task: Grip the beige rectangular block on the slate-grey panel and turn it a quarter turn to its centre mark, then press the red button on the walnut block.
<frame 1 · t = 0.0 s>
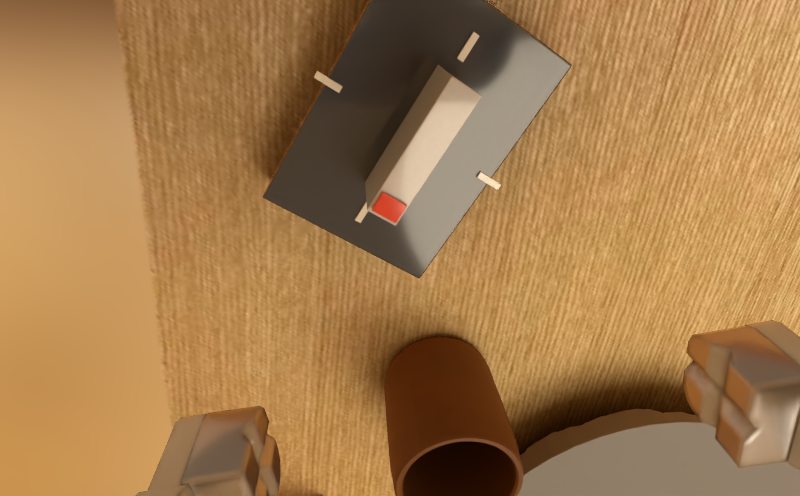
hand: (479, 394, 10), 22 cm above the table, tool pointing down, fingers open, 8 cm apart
beige rectangular block: (417, 144, 25), point 5 cm above the table, hinge at 0.0°
mug: (438, 397, 39), on the table
tap panel: (407, 120, 30), on the table
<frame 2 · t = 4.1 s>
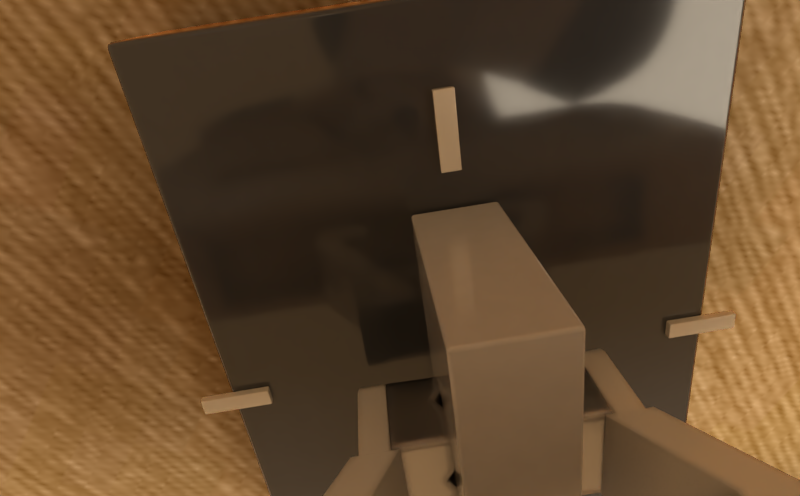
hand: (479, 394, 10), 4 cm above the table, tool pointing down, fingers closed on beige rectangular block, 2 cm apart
beige rectangular block: (494, 438, 9), point 5 cm above the table, hinge at 0.0°, touching gripper
tap panel: (446, 287, 14), on the table
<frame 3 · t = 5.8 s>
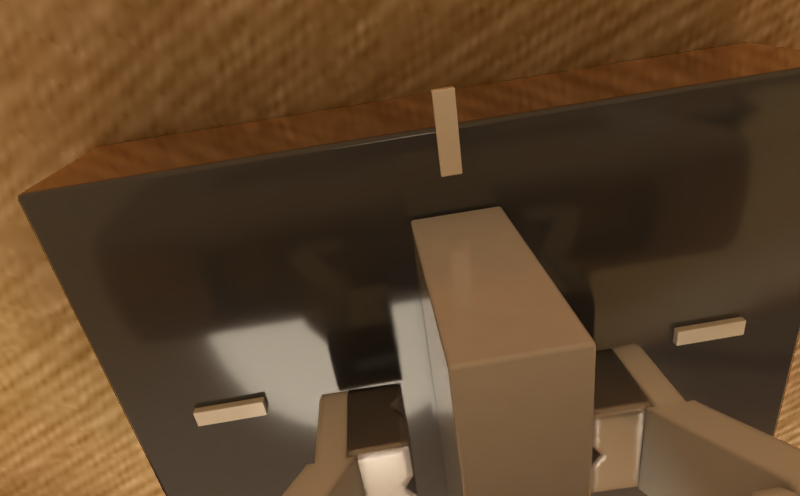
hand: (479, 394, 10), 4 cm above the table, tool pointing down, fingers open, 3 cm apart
beige rectangular block: (497, 452, 9), point 5 cm above the table, hinge at 89.8°
tap panel: (446, 292, 13), on the table
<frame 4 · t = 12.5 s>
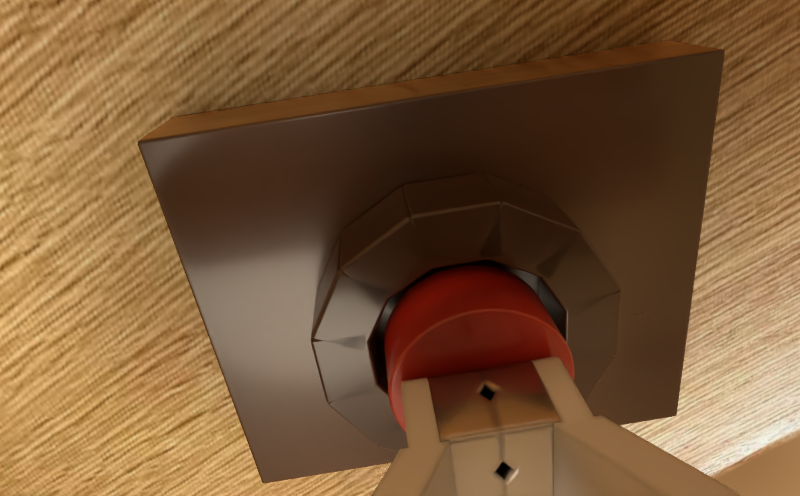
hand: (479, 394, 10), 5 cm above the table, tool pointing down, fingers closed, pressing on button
button block: (441, 261, 15), on the table
button: (473, 360, 11), point 4 cm above the table, slide at 0.0 cm, touching gripper
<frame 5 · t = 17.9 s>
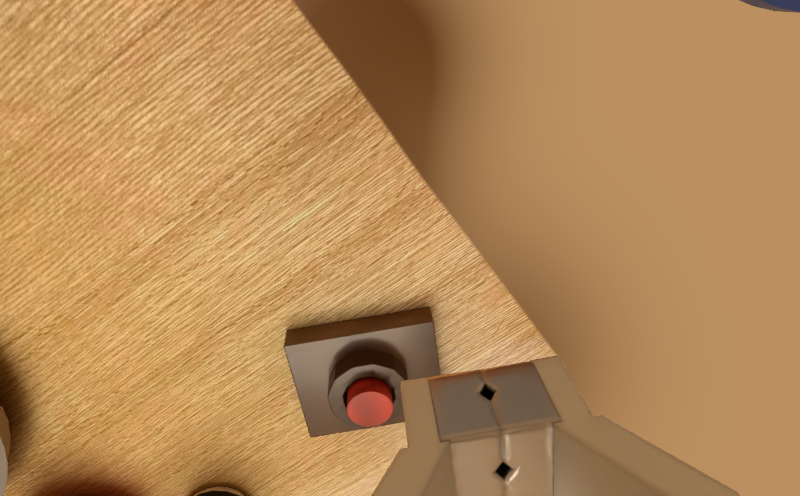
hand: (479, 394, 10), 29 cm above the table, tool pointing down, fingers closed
button block: (368, 365, 46), on the table
button: (369, 401, 42), point 4 cm above the table, slide at 0.1 cm
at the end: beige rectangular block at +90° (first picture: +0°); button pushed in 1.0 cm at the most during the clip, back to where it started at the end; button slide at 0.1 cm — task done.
